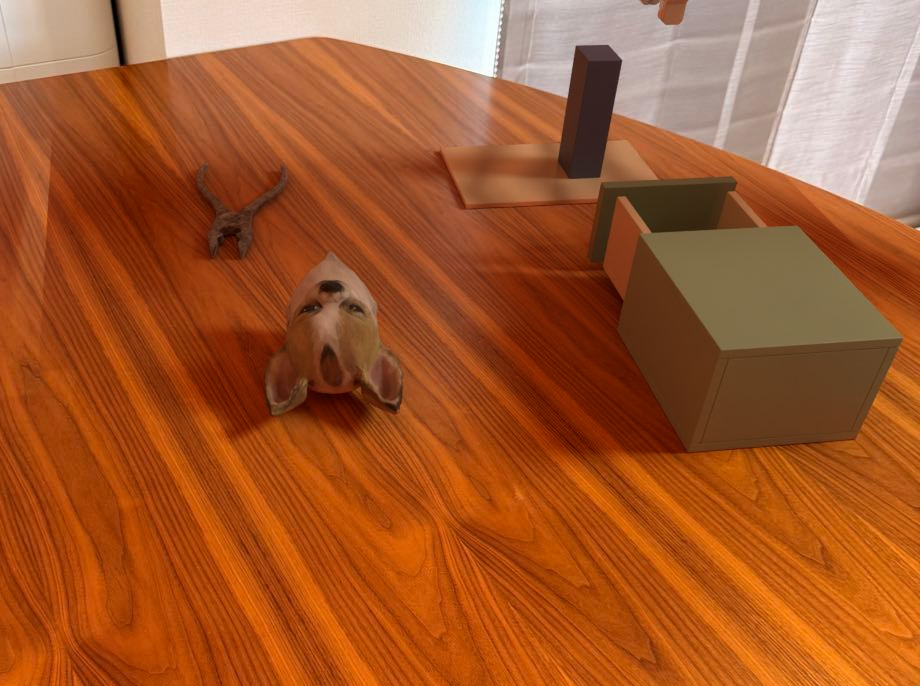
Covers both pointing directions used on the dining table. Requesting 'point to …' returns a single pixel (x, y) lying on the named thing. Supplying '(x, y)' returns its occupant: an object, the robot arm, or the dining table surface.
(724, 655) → the dining table surface
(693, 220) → the drawer
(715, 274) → the cabinet
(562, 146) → the block
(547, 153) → the mat
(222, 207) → the pliers
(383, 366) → the ceramic sculpture
